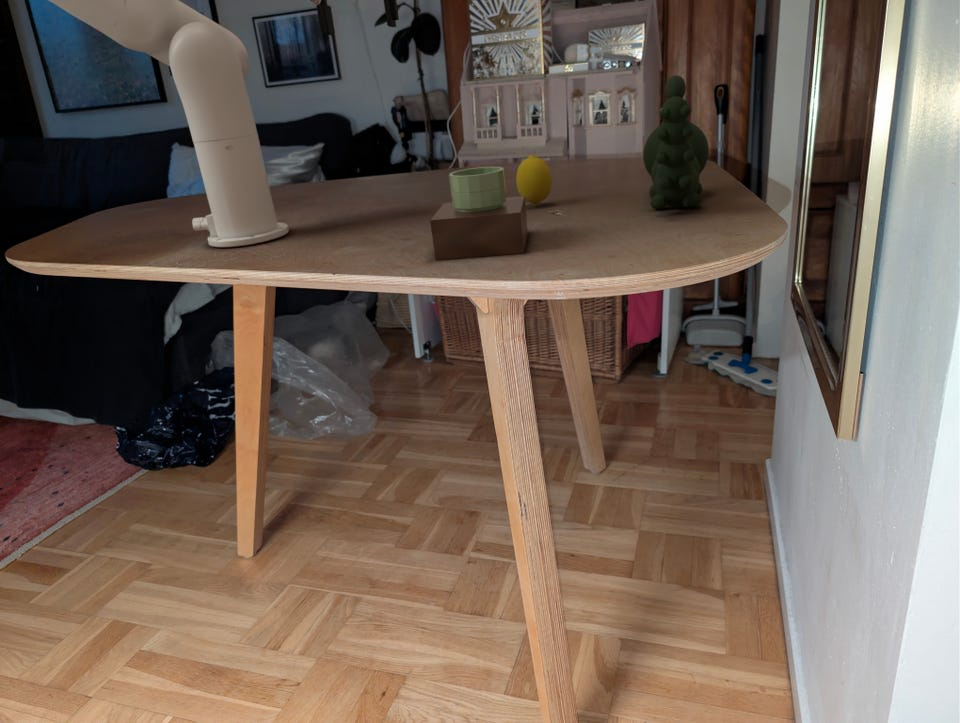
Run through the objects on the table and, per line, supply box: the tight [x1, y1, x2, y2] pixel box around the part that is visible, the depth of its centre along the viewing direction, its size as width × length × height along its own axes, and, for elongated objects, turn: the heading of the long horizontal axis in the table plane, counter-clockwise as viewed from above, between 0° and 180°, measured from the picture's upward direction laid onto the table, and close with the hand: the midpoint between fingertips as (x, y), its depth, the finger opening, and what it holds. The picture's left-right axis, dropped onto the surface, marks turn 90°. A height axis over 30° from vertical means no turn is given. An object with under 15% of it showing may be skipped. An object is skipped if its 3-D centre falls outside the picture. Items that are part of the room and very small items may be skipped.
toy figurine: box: [642, 74, 710, 210], centre depth 100 cm, size 9×19×25 cm
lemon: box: [515, 154, 552, 207], centre depth 111 cm, size 6×6×8 cm
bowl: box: [448, 166, 507, 212], centre depth 88 cm, size 7×7×4 cm
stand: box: [429, 196, 528, 261], centre depth 90 cm, size 11×11×5 cm
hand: (360, 30), depth 105 cm, fingers open, 9 cm apart
